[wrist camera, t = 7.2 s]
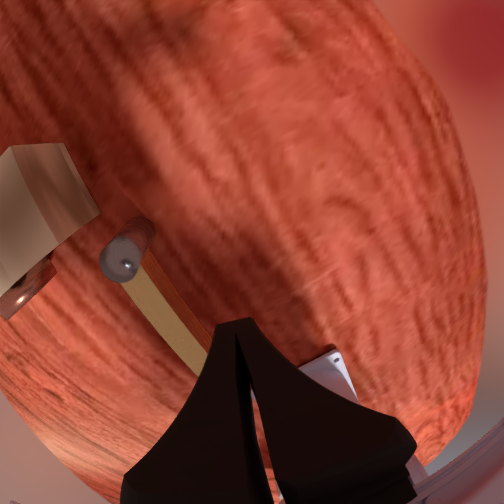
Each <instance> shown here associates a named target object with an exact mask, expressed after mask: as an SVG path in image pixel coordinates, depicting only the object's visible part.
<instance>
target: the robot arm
mask: <svg viewBox="0 0 504 504" xmlns="http://www.w3.org/2000/svg"><path fill="white" fill-rule="evenodd" d="M250 385H251V387H252V389H250ZM252 398H253V399H254V400H255V401H256V402H257V404H258V407H259V411H260V415H261V420H262V424H263V428H264V433H265V437H266V441H267V446H268V450H269V454H270V459H271V463H272V467H273V471H274V476H275V479H276V482H277V484H278V487H279V489H280V491H281V494H282V496H283V499H282V500H281V501H280V503H279V504H504V418H503V419H502V420H500V422H498V423H497V425H495V426H494V427H493V428H492V429H491V430H490V431H489V432H488V433H486V434H485V435H484V436H483V437H482V438H481V439H480V440H478V441H477V442H476V443H475V444H474V445H473V446H471V447H470V448H469V449H467V450H466V451H465V452H464V453H462V454H461V455H459V456H458V457H457V458H455V459H454V460H453V461H451V462H450V463H449V464H447V465H446V466H444V467H443V468H441V469H440V470H438V471H437V472H436V473H434V474H432V475H431V476H428V474H427V472H426V471H425V469H424V467H423V466H422V464H421V463H420V461H419V460H418V458H417V457H416V456H415V455H414V452H415V450H416V448H417V444H416V441H415V440H414V438H413V437H412V435H411V434H410V432H409V431H408V430H407V429H406V428H405V427H404V426H403V425H402V424H401V422H400V421H399V420H398V419H397V418H396V417H392V416H389V415H386V414H383V413H380V412H377V411H374V410H371V409H369V408H366V407H364V406H361V404H360V403H359V401H358V398H357V396H356V393H355V390H354V387H353V385H352V382H351V379H350V377H349V374H348V372H347V369H346V366H345V364H344V361H343V359H342V356H341V353H340V352H339V350H337V349H334V350H332V351H330V352H328V353H326V354H324V355H322V356H321V357H319V358H317V359H315V360H313V361H311V362H309V363H307V364H305V365H303V366H301V367H299V368H297V367H296V366H295V365H293V364H292V363H291V362H290V361H289V360H288V359H287V358H285V357H284V356H283V355H282V354H281V353H280V352H279V351H278V350H277V349H276V348H275V347H274V346H273V344H272V343H271V342H270V341H269V340H268V339H267V338H266V337H265V335H264V334H263V333H262V331H261V330H260V329H259V327H258V326H257V324H256V323H255V321H254V319H253V318H251V317H248V318H243V319H239V320H235V321H230V322H226V323H221V324H217V326H216V327H215V331H214V335H213V339H212V343H211V346H210V349H209V352H208V355H207V358H206V360H205V363H204V366H203V368H202V371H201V373H200V375H199V377H198V380H197V382H196V384H195V386H194V388H193V390H192V392H191V394H190V396H189V397H188V399H187V401H186V403H185V404H184V406H183V408H182V409H181V411H180V412H179V414H178V415H177V417H176V418H175V420H174V421H173V423H172V424H171V425H170V427H169V428H168V429H167V431H166V432H165V433H164V434H163V436H162V437H161V438H160V439H159V440H158V442H157V443H156V444H155V445H154V446H153V447H152V449H151V450H150V451H149V452H148V453H147V454H146V455H145V456H144V457H143V458H142V459H141V460H140V461H139V462H138V463H137V464H136V465H134V466H133V467H132V468H131V469H130V470H129V471H128V472H127V473H126V474H124V478H123V482H122V486H121V494H120V504H274V501H273V497H272V494H271V490H270V487H269V483H268V479H267V476H266V472H265V468H264V464H263V461H262V457H261V453H260V449H259V445H258V441H257V435H256V429H255V421H254V413H253V405H252ZM10 504H19V503H17V502H14V501H10Z"/></svg>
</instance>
